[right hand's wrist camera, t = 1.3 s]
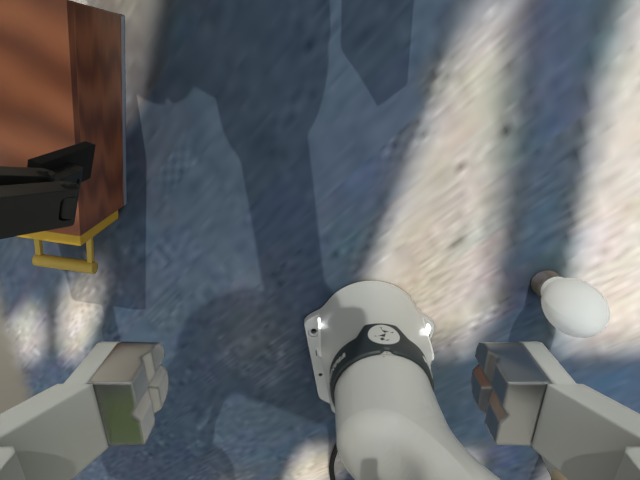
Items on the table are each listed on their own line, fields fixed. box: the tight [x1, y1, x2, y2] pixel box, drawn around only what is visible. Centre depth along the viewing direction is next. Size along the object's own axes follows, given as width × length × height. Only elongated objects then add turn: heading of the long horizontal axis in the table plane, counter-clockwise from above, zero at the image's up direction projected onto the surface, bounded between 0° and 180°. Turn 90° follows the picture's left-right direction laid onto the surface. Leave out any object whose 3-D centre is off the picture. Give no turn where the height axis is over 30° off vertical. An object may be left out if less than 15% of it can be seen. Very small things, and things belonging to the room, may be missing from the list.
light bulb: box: [531, 271, 610, 338], centre depth 52 cm, size 7×7×11 cm
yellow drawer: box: [17, 210, 118, 274], centre depth 46 cm, size 26×9×9 cm, turn 170°
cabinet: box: [0, 0, 127, 236], centre depth 44 cm, size 22×10×11 cm, turn 170°
